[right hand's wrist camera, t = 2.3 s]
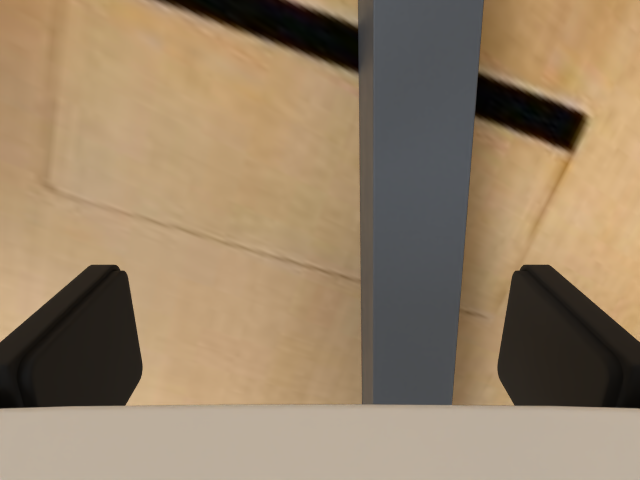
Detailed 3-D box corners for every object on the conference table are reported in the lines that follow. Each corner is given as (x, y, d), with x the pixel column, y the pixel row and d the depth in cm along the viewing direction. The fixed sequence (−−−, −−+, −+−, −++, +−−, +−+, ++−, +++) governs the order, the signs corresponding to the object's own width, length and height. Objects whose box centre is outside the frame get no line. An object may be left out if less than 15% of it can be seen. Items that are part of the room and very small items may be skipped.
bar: (357, -81, 24) (373, -133, 18) (447, -85, 24) (495, -138, 18) (364, 631, 47) (372, 722, 40) (411, 629, 47) (427, 720, 40)
